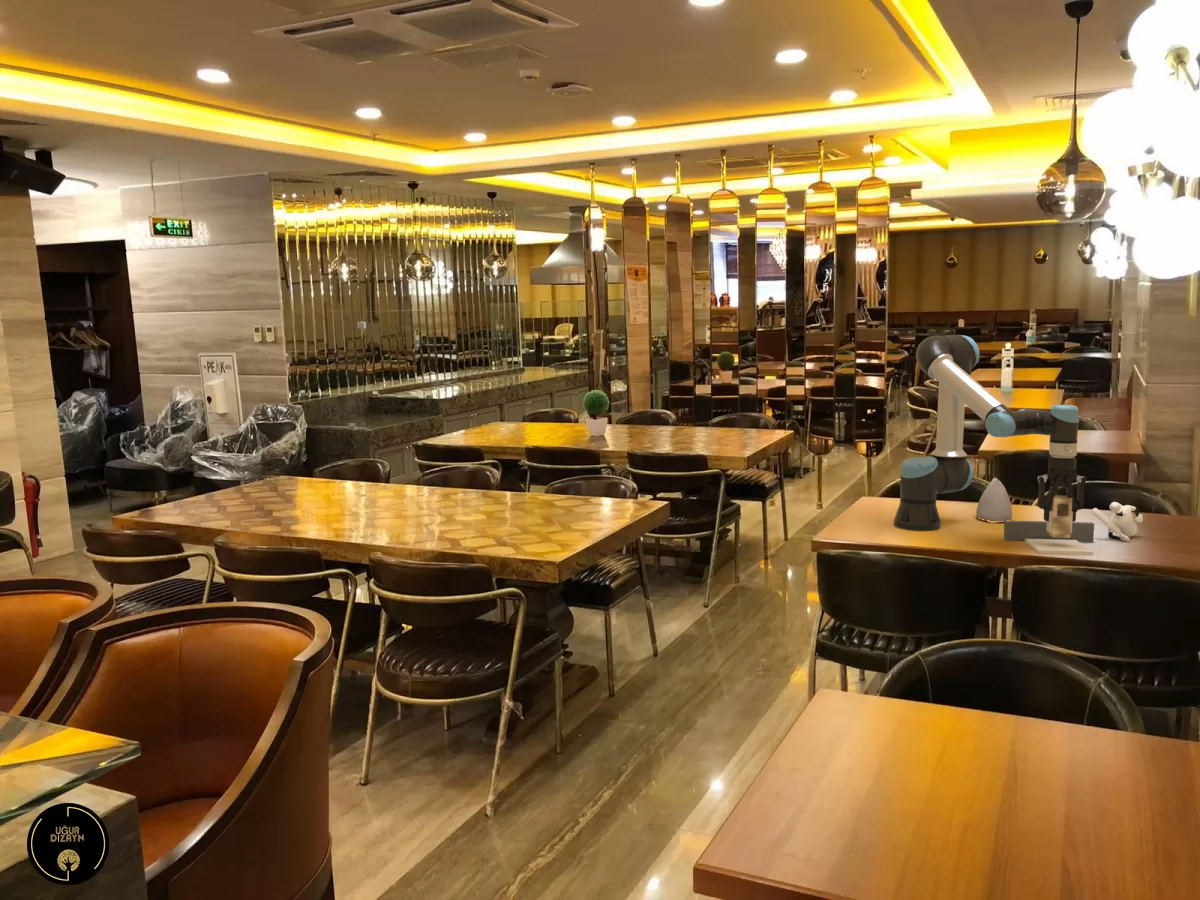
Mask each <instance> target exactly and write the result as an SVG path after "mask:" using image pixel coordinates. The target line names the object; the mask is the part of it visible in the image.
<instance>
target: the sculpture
mask: <svg viewBox="0 0 1200 900" xmlns="http://www.w3.org/2000/svg"><path fill="white" fill-rule="evenodd" d="M975 513H976V518H977V519H978V518H980V519H979V520H982V519H984V520H983V521H986V520H990V521H1007V520H1010V521H1012V519H1013V508H1012V504H1011V500H1010V496H1009V494H1008V492H1007V489H1006V488H1005V486H1004V484H1003V483H1002V481H1000V480H999V479H998V478H997V477H993V479H992V480H991V481H990V482H989V484H988V485H987V486H986V488H985V490H984V491H983V493H982V494H981V497H980V499H979V501H978V504H977V507H976V511H975Z"/></svg>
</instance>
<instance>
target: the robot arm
mask: <svg viewBox="0 0 1200 900" xmlns="http://www.w3.org/2000/svg"><path fill="white" fill-rule="evenodd" d="M980 355H981V354H980V348H979V345H978V344H977V342H975V340H974V339H973V338H972V337H970V336H967V335H961V334H954V335H953V334H950V335H949V334H948V335H932V336H928V337H926V338H924V339H923V340H922V341H921V342H920V343H919V344H918V347H917V349H916V352H915V359H916V363H917V364H918V367H919V368H920V369H921V371H923V372H924V373H925V374H926V375H927V376H928V378H930V379H933V380H937V381H938V398H937V399H938V400H937V418H936V419H937V420H936V421H937V424H936V438H935V439H936V440H935V441H936V445H935V448H934V450H933V451H932V452H931V453H930V456H915V457H909V458H907V459H904V460H903V461H902V463H901V468H900V488H899V490H900V493H899V494H900V495H899V496H900V497H899V505H898V507H897V510H896V514H895V516H894V520H893V525H894V527H896V528H899V529H902V530H903V529H904V530H908V531H923V532H924V531H927V532H928V531H936V530H939V529H941V525H942V520H941V517H940V514H939V511H938V508H937V495H939V494H946V493H957V492H959V491H963V490H965V489H967V488H968V487H969V486H970V484H971V483H972V480H973V479H974V468H973V467H974V466H973V465H971V461H969V459H968V454H967V453H966V452H965V451H964V449H963V448H964V447H963V446H964V442H963V441H964V425H965V408H966V407H965V405H966V406H967V407H968V408H969V409H970V411H972V412H974V414H976V415H977V416H978V417H979V418H980V419H981V420H983V421H984V422H985V423H984V424H985V429H986V431H987V434H988V435H990V436H992V437H995V438H1008V437H1015V436H1016V437H1017V436H1027V435H1042V436H1043V435H1044V436H1049V444H1048V445H1049V448H1048V454H1049V457H1048V469H1047V472H1046V474H1043V475H1037V477H1036V480H1037V482H1038V490H1037V491H1038V493H1037V504H1036V505H1037V507H1038V509H1041V510H1043V521H1047V527H1046V531H1048V532H1052V513H1053V511H1051V510H1050V508H1051V505H1052V502H1053V498H1054V496H1056V493H1057V491H1058V490H1059V488H1061V487H1062V488H1064V489H1065V492H1066V496H1067V497H1069V498H1072V514H1071V533H1072V522H1077V521H1076V520H1077V512H1078V511H1079V510H1080V511H1081V510H1083V509H1084V503H1085V502H1084V500H1085V498H1084V497H1085V484H1086V482H1087V477H1085V476H1081V475H1078V473H1077V459H1078V458H1077V457H1076V456H1077V455H1078V432H1079V423H1080V419H1079V413H1080V412H1079V408H1078V406H1076V405H1071V404H1056V405H1055V404H1054V405H1052V406H1051V409H1050V410H1042V409H1033V408H1021V409H1019V410H1016V411H1015V410H1014V411H1013V410H1011V409H1010V408H1009V407H1007V406H1006V405H1005V404H1004V403H1002V402H1001V401H1000V400H999V399H997V398H996V397H995V395H993V394H992V393H991V392H989V391H988V390H987V389H986V388H985V387H984V386H983V385H981V384H980V383H979V382H978V381H977V380H976V379H974V378H973V377H972V369H974V367H975V366H976V365H977V364H978V362H979V360H980ZM1047 480H1049V482H1050V484H1049V490H1048V493H1047V495H1046V496H1045V494H1046V483H1047V482H1048V481H1047ZM1075 480H1076V482H1077V485H1076V500H1075V496H1074V492H1073V485H1072V484H1073V483H1074V482H1075ZM1045 497H1046V499H1045Z"/></svg>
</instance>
